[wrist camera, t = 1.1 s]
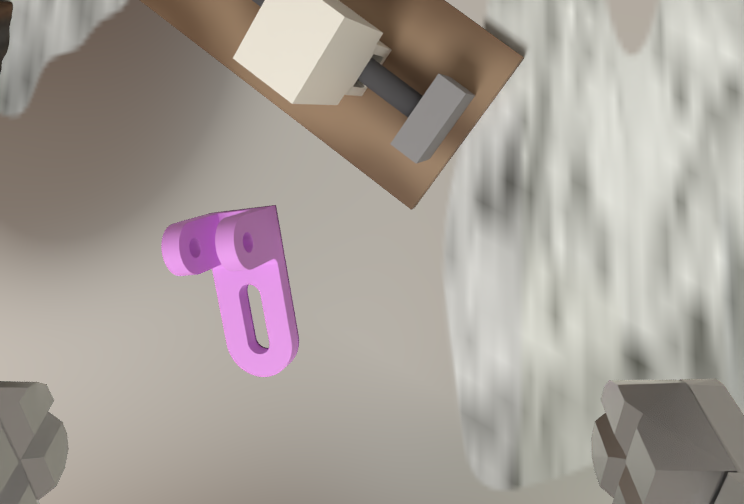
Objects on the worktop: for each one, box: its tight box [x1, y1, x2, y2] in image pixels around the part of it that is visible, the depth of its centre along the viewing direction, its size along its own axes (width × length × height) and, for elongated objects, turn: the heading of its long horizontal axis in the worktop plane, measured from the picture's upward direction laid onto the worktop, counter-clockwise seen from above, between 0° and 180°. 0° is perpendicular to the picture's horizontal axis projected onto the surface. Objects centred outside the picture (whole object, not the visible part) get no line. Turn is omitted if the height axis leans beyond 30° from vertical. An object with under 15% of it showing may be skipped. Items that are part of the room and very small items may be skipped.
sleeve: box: [233, 0, 391, 105], centre depth 36 cm, size 5×4×10 cm
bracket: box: [162, 205, 299, 377], centre depth 46 cm, size 13×6×7 cm, turn 10°
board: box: [140, 0, 524, 209], centre depth 43 cm, size 12×30×1 cm, turn 56°
